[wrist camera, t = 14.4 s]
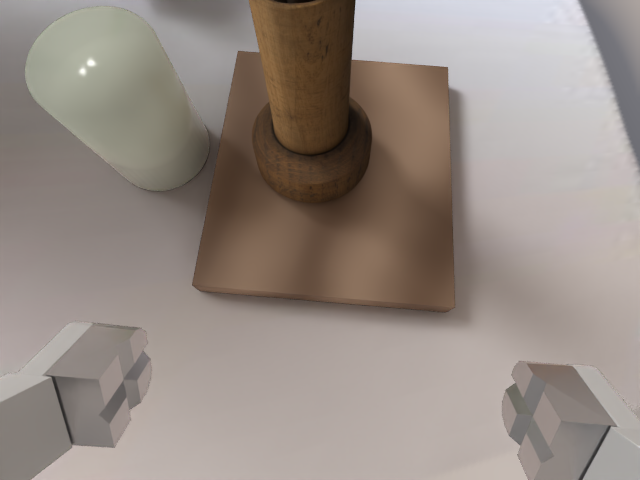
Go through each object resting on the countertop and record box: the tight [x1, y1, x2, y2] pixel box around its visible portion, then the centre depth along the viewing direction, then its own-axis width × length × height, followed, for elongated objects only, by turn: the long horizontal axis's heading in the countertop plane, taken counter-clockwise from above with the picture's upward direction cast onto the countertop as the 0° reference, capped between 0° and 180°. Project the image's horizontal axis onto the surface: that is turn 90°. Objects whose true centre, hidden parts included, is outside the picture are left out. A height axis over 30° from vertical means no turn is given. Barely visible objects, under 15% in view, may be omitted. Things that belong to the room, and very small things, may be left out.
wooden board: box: [192, 51, 455, 312], centre depth 24 cm, size 14×16×2 cm
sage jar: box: [25, 6, 210, 191], centre depth 22 cm, size 6×6×8 cm
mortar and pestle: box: [249, 0, 372, 203], centre depth 15 cm, size 7×6×18 cm
